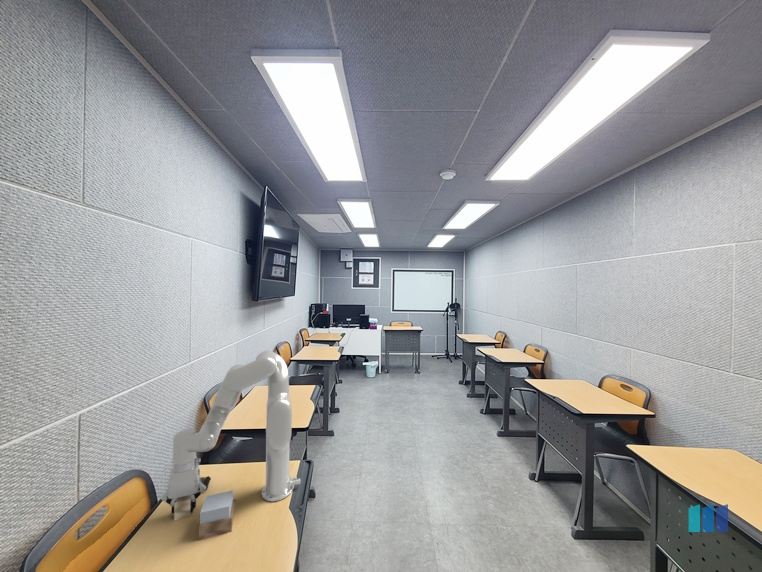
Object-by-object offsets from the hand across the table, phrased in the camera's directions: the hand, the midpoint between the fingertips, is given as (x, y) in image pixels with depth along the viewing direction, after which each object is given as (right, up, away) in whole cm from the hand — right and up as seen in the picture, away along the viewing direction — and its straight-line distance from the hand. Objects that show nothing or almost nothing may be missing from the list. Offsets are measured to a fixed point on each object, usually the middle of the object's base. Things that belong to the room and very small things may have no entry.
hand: (183, 511), depth 111 cm
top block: (+16, +4, -5) cm, 17 cm away
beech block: (0, -1, 0) cm, 1 cm away
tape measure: (-2, -2, +14) cm, 15 cm away
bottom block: (+16, -1, -6) cm, 17 cm away
